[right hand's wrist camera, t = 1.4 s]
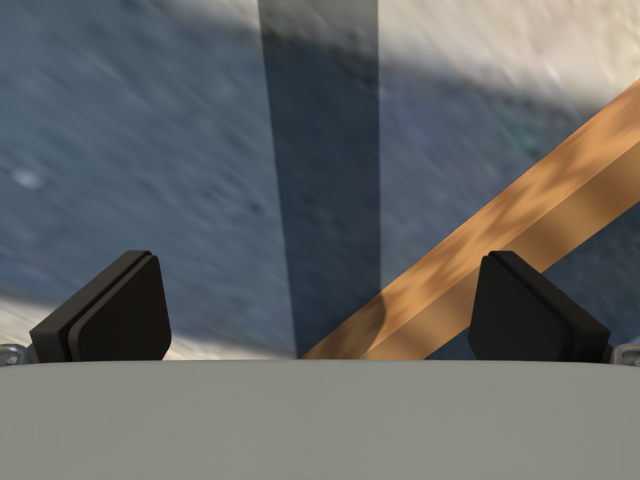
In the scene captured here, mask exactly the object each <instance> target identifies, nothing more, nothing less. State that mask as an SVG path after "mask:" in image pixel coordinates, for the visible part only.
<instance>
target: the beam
mask: <svg viewBox="0 0 640 480" xmlns="http://www.w3.org/2000/svg"><path fill="white" fill-rule="evenodd" d="M639 201H640V79H639V80H637V81H636V82H635V83H634V84H633V85H631V86H630V87H629V88H628V89H626V90H625V91H624V92H623V93H622V94H620V95H619V96H618V97H617V98H616V99H614V100H613V101H612V102H611V103H609V104H608V105H607V106H606V107H605V108H603V109H602V110H601V111H600V112H599V113H597V114H596V115H595V116H594V117H592V118H591V119H590V120H589V121H588V122H586V123H585V124H584V125H583V126H581V127H580V128H579V129H578V130H577V131H575V132H574V133H573V134H572V135H571V136H569V137H568V138H567V139H566V140H564V141H563V142H562V143H561V144H560V145H558V146H557V147H556V148H555V149H554V150H552V151H551V152H550V153H549V154H547V155H546V156H545V157H544V158H543V159H541V160H540V161H539V162H538V163H537V164H535V165H534V166H533V167H532V168H530V169H529V170H528V171H527V172H526V173H524V174H523V175H522V176H521V177H519V178H518V179H517V180H516V181H515V182H513V183H512V184H511V185H510V186H509V187H507V188H506V189H505V190H504V191H502V192H501V193H500V194H499V195H498V196H496V197H495V198H494V199H493V200H492V201H490V202H489V203H488V204H487V205H485V206H484V207H483V208H482V209H481V210H479V211H478V212H477V213H476V214H475V215H473V216H472V217H471V218H470V219H468V220H467V221H466V222H465V223H464V224H462V225H461V226H460V227H459V228H457V229H456V230H455V231H454V232H453V233H451V234H450V235H449V236H448V237H447V238H445V239H444V240H443V241H442V242H440V243H439V244H438V245H437V246H436V247H434V248H433V249H432V250H431V251H430V252H428V253H427V254H426V255H425V256H423V257H422V258H421V259H420V260H419V261H417V262H416V263H415V264H414V265H413V266H411V267H410V268H409V269H408V270H406V271H405V272H404V273H403V274H402V275H400V276H399V277H398V278H397V279H395V280H394V281H393V282H392V283H391V284H389V285H388V286H387V287H386V288H385V289H383V290H382V291H381V292H380V293H378V294H377V295H376V296H375V297H374V298H372V299H371V300H370V301H369V302H368V303H366V304H365V305H364V306H363V307H361V308H360V309H359V310H358V311H357V312H355V313H354V314H353V315H352V316H351V317H349V318H348V319H347V320H346V321H344V322H343V323H342V324H341V325H340V326H338V327H337V328H336V329H335V330H333V331H332V332H331V333H330V334H329V335H327V336H326V337H325V338H324V339H323V340H321V341H320V342H319V343H318V344H316V345H315V346H314V347H313V348H312V349H310V350H309V351H308V352H307V353H306V354H304V355H303V356H302V357H301V358H299V359H298V360H424V359H425V358H426V357H428V356H429V355H430V354H432V353H433V352H434V351H436V350H437V349H439V348H440V347H441V346H443V345H444V344H445V343H447V342H448V341H449V340H451V339H452V338H454V337H455V336H456V335H458V334H459V333H460V332H462V331H463V330H464V329H466V328H467V327H469V326H470V323H471V317H472V311H473V306H474V300H475V294H476V288H477V282H478V276H479V270H480V264H481V260H482V257H483V256H485V255H488V253H489V252H490V251H514V252H515V253H516V254H517V255H519V256H520V257H521V258H522V259H523V260H525V261H526V262H527V263H528V264H529V265H531V266H532V267H533V268H534V269H535V270H537V271H538V272H539V273H540V274H541V273H542V272H544V271H545V270H546V269H548V268H549V267H550V266H552V265H553V264H554V263H556V262H557V261H559V260H560V259H561V258H563V257H564V256H565V255H567V254H568V253H569V252H571V251H572V250H574V249H575V248H576V247H578V246H579V245H580V244H582V243H583V242H584V241H586V240H587V239H589V238H590V237H591V236H593V235H594V234H595V233H597V232H598V231H599V230H601V229H602V228H604V227H605V226H606V225H608V224H609V223H610V222H612V221H613V220H614V219H616V218H617V217H619V216H620V215H621V214H623V213H624V212H625V211H627V210H628V209H629V208H631V207H632V206H634V205H635V204H636V203H638V202H639Z"/></svg>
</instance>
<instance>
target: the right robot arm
mask: <svg viewBox="0 0 640 480" xmlns="http://www.w3.org/2000/svg"><path fill="white" fill-rule="evenodd" d="M29 333H30V336H31V339H32V342H33V343H32V344H31V345H29V346H28V347H27V348H25V347H24V346H21V345H19V344H1V345H0V480H640V345H639V344H621V345H619V346H616V347H615V348H613V347H612V346H611V345H609V344H608V343H607V342H608V339H609V336H610V333H611V332H610V331H609V330H608V329H607V328H606V327H604V326H603V325H602V324H601V323H600V322H598V321H597V320H596V319H595V318H594V317H592V316H591V315H590V314H589V313H587V312H586V311H585V310H584V309H583V308H581V307H580V306H579V305H578V304H577V303H575V302H574V301H573V300H572V299H571V298H569V297H568V296H567V295H566V294H564V293H563V292H562V291H561V290H560V289H558V288H557V287H556V286H555V285H554V284H552V283H551V282H550V281H549V280H548V279H546V278H545V277H544V276H543V275H542V274H540V273H539V272H538V271H537V270H535V269H534V268H533V267H532V266H531V265H529V264H528V263H527V262H526V261H525V260H523V259H522V258H521V257H520V256H519V255H517V254H516V253H515V252H514V251H490V252H489V253H488V255H485V256H483V257H482V260H481V264H480V270H479V276H478V282H477V288H476V294H475V300H474V306H473V311H472V317H471V323H470V329H469V336H468V337H469V344H470V347H471V349H472V351H473V352H474V354H475V356H476V357H477V359H478V361H471V360H171V361H162V359H163V357H164V356H165V354H166V352H167V351H168V349H169V347H170V344H171V337H172V336H171V329H170V323H169V317H168V311H167V306H166V300H165V294H164V288H163V282H162V276H161V270H160V264H159V260H158V257H157V256H155V255H152V253H151V252H150V251H126V252H125V253H124V254H123V255H121V256H120V257H119V258H118V259H117V260H115V261H114V262H113V263H112V264H111V265H109V266H108V267H107V268H106V269H105V270H103V271H102V272H101V273H100V274H98V275H97V276H96V277H95V278H94V279H92V280H91V281H90V282H89V283H88V284H86V285H85V286H84V287H83V288H82V289H80V290H79V291H78V292H77V293H76V294H74V295H73V296H72V297H71V298H69V299H68V300H67V301H66V302H65V303H63V304H62V305H61V306H60V307H59V308H57V309H56V310H55V311H54V312H53V313H51V314H50V315H49V316H48V317H46V318H45V319H44V320H43V321H42V322H40V323H39V324H38V325H37V326H36V327H34V328H33V329H32V330H31V331H30V332H29Z"/></svg>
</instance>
